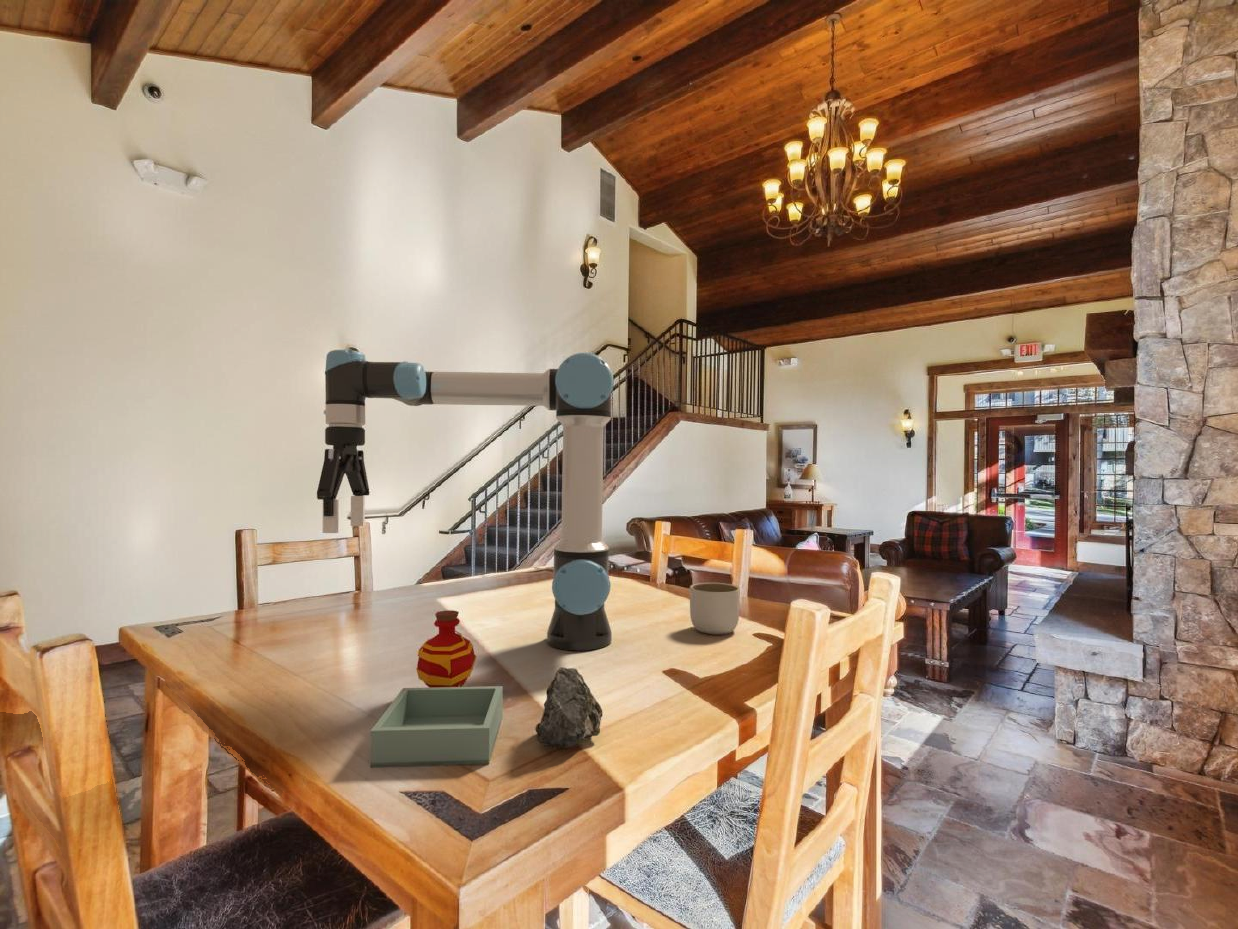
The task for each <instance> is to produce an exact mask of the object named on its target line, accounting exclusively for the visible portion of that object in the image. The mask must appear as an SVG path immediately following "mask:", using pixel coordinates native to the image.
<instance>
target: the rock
mask: <svg viewBox="0 0 1238 929" xmlns="http://www.w3.org/2000/svg"><path fill="white" fill-rule="evenodd" d="M543 707H544V709H543V711H542V716H541V719H540V723H537V724H536V726H535V732H536V739H537V742H538V744H543V745H546V746H549V747H550V748H551V749H559V748H563V749H565V750H566V749H568V748H571V747H575V746H576V745H577V744H579V743H580V742H582V741H584V740H586V739H589V738H592V737H596V736H598V735H599V734H600V733H601V732H600V731H601V722H602V718H603V709H602V708H601V705H600V703H599V701H597V699H596V697H594V695H593V693H592V692H591V688H590V687H589V686H588V684H587V683H586V682H585V679H584V677H583V676H582V675H581V674H580V672H579V671H578V669H577V668H575V667H572V668H567V667H563V666H562V667H559V668H558V669H557V670H556V672H555V674H554V677H553V679H552V681H551V682H550V684H549V686H548V687H547V688H546V700H545V701H544V703H543Z"/></svg>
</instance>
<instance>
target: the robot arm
mask: <svg viewBox="0 0 1238 929" xmlns="http://www.w3.org/2000/svg"><path fill="white" fill-rule="evenodd" d="M324 377H325V381H324V383H325V385H324V386H325V389H324V390H325V410H323V414H324V415H325V421H324V422H325V424H326V425H328V426H327V427H325V429H324V432H325V433H324V443H325V444H326V445H327V446H333V447H332V448H326V449H324V455H323V456H324V457H323V458H324V461H323V465H322V468H321V473H320V477H319V481H318V482H319V483H318V487H317V490H316V499H317V500H321V501H322V534H338V533H339V501H340V500H339V499H337V496H338V494H339V490H340V487H341V485H342V481H343V479H344V476H345V475H346V478H347V481H348V483H349V487H350V489H351V492H352V495H351V496H350V527H364V526H365V523H366V522H365V521H366V520H365V516H366V515H365V512H366V511H365V510H366V506H365V505H366V502H365V501H366V498H365V497H366V496H370V487H369V482H368V476H367V470H366V465H365V459H364V458H365V454H364V453H365V452H364V450H363V449H362V450H361V449H359V450H358V449H357V448H358V446H359V447H360V446H361V447H362V446H365V443H366V429H364V427H363V426H365V425H366V399H367V398H368V399H392V400H395V401H398V402H401V403H403V404H405V405H407V406H411V407H419V406H422V405H429V406H430V405H446V406H447V405H450V406H451V405H454V406H455V405H461V406H462V405H464V406H470V405H472V406H520V407H521V406H528V407H530V406H532V407H533V406H535V407H542V406H543V407H545V408H546V409H547V410H548V411H555V413H556V415H555V416H556V418H555V419H556V420H557V421H558V422H559V423H560V424H561V425H562V427H563V429H562V469H561V470H562V472H561V474H562V477H561V478H562V481H561V483H562V484H561V488H562V489H561V534H560V535H561V537H560V538H561V539H560V540H559V541H558V542H557V544H555V545H554V547H553V580H552V583H551V591H552V594H553V598H554V610H553V613H552V617H551V620H550V623H549V624H548V629H547V632H546V643H547V645H549V646H551V647H552V648H556V649H559V650H566V651H593V650H597V649H602V648H604V647H607V646H609V645H610V644H611V643H612V640H613V639H612V635H613V634H612V629H611V628H612V627H611V626H610V622H609V618H608V617H607V612H606V610H605V602H606V601H607V599H608V597H609V594H610V592H611V580H610V577H609V569H610V567H609V557H610V556H609V555H610V554H609V552H610V551H609V549H610V547H609V546H608V545H607V544H606V543H605V542H604V540H603V496H604V495H603V493H604V492H603V491H604V490H603V489H604V488H603V487H604V486H603V483H604V479H603V478H604V477H603V476H604V430H605V429H604V427H605V426H607V424H608V423H609V422H610V421H611V420H612V392H613V389H614V381H615V380H614V374H613V372H612V369H611V368H610V365H609V364H608V363H607V361H605V360H604V359H603V358H602V357H600V356H599V355H597V354H594V353H591V352H577V353H573V354H572V355H570V356H568V357H567V358H566V359H564V360H563V361H562V362H561V364H560V365H559V367H558V368H548V369H547V370H546V371H544V372H491V371H490V372H488V371H487V372H485V371H484V372H482V371H475V372H474V371H473V372H472V371H426V370H425V368H424V366H423V364H421V363H420V362H411V361H410V362H409V361H367V359H366V355H365V354H364V353H363V352H361V351H357V350H352V349H351V350H349V349H334V350H330V351H329V352H327V354H326V359H325V369H324Z"/></svg>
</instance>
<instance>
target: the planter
mask: <svg viewBox="0 0 1238 929" xmlns="http://www.w3.org/2000/svg"><path fill="white" fill-rule="evenodd" d="M740 599H741V588H740V587H739V586H737V585H735V584H731V583H723V582H698V583H693V584H691V585H689V614H690V621H691V623H692V625H693V627H694V628H695V629H696V630H697V631H698V632H700V633H703V634H706V635H715V636H717V635H719V636H720V635H726V634H730V633H732V632H733V631H734V630H735V629H736V628H737V625H738V622H739V620H740V610H741V608H740V604H741V602H740V601H741V600H740Z"/></svg>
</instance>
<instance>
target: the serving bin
mask: <svg viewBox="0 0 1238 929" xmlns="http://www.w3.org/2000/svg"><path fill="white" fill-rule="evenodd" d="M503 690H504V687H503V685H494V686H489V685H488V686H461V687H432V688H429V687H403V688H402V689H401V690H400V691H399V693H398V694H397V695H396V697H395V698H394V699H393V701H392V702H391V703H390V705H388V708H386V710H385V712H384V713H383V714H382V715H381V717H380V718H379V719H378V720H377V722H376V723H375V724H374V726H373V727H372V728H371V730H370V766H369V767H370V768H390V767H391V768H394V767H395V768H396V767H431V766H462V765H463V766H465V765H469V766H470V765H489V764H490V761H491V758H492V755H493V751H494V747H495V745H496V740H497V736H498V733H499V731H500V730H499V729H500V727H501V723H502V719H503V711H504V710H503V702H504V700H503V696H504V695H503V692H504V691H503Z"/></svg>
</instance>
